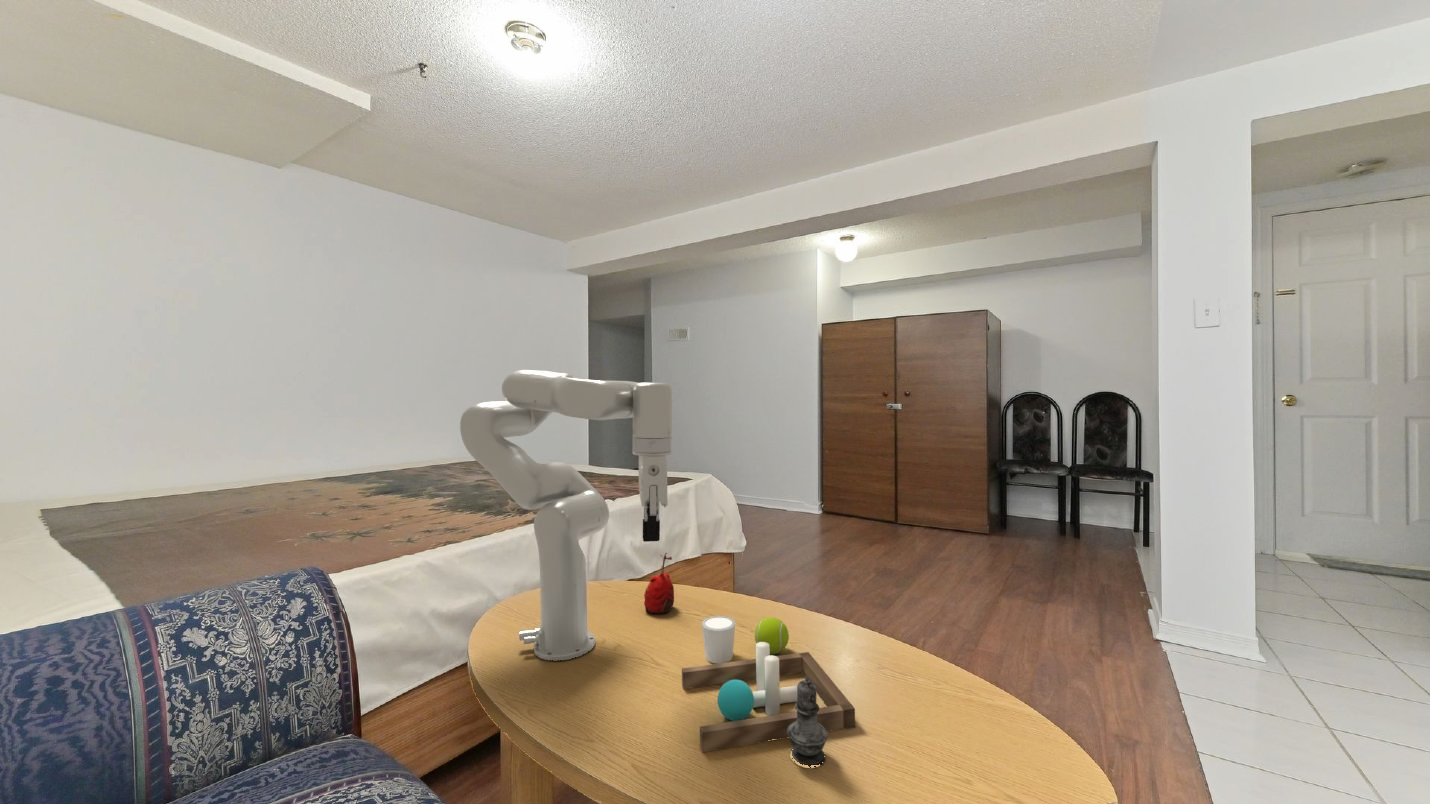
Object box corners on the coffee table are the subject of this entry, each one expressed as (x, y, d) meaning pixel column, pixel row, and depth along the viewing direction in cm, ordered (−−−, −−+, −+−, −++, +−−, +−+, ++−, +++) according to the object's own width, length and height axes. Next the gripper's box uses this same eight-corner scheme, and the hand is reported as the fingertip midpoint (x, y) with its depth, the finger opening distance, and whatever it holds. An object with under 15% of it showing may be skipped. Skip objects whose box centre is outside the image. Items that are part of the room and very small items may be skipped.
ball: (753, 730, 86) (716, 729, 86) (750, 697, 91) (715, 696, 91) (757, 703, 84) (719, 702, 83) (753, 671, 89) (718, 670, 89)
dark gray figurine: (797, 774, 74) (796, 690, 74) (781, 747, 80) (780, 669, 80) (835, 765, 76) (834, 682, 76) (816, 739, 82) (815, 663, 82)
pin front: (753, 698, 89) (803, 691, 91) (749, 689, 92) (798, 682, 94) (753, 711, 90) (803, 703, 92) (749, 701, 92) (798, 694, 94)
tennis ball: (751, 658, 107) (750, 623, 107) (759, 642, 114) (759, 610, 114) (785, 663, 105) (784, 628, 105) (791, 647, 112) (791, 614, 111)
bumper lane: (701, 752, 79) (701, 732, 79) (682, 684, 98) (681, 668, 98) (855, 727, 85) (854, 708, 85) (808, 667, 103) (808, 652, 103)
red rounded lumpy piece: (664, 602, 137) (663, 544, 136) (680, 610, 131) (679, 550, 131) (639, 610, 132) (638, 550, 131) (654, 619, 126) (653, 556, 126)
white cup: (732, 666, 104) (732, 631, 104) (698, 663, 105) (698, 628, 105) (738, 649, 111) (737, 616, 111) (706, 647, 112) (705, 614, 112)
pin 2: (767, 717, 88) (767, 663, 87) (763, 708, 90) (762, 656, 90) (781, 715, 88) (781, 661, 88) (777, 706, 90) (776, 654, 90)
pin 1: (758, 700, 92) (758, 649, 92) (754, 692, 95) (754, 642, 95) (772, 698, 93) (771, 647, 93) (767, 690, 95) (767, 641, 95)
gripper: (675, 450, 96) (674, 551, 96) (667, 441, 110) (666, 529, 111) (633, 451, 94) (632, 553, 95) (631, 442, 109) (630, 530, 109)
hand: (651, 540), depth 103 cm, fingers closed
